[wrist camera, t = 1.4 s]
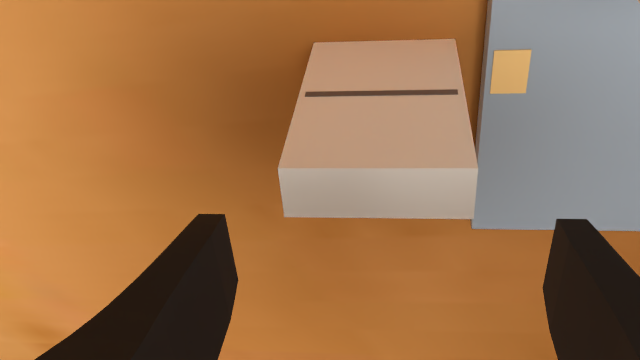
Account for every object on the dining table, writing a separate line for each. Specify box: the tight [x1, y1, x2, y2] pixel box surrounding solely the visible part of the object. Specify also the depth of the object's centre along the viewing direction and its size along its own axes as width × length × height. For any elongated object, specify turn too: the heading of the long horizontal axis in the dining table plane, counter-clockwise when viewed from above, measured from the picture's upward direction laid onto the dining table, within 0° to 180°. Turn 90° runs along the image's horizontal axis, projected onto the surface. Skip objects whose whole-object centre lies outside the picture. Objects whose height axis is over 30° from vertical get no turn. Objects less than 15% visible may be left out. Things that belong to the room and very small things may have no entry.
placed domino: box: [278, 39, 478, 219], centre depth 19 cm, size 2×5×8 cm, turn 94°
